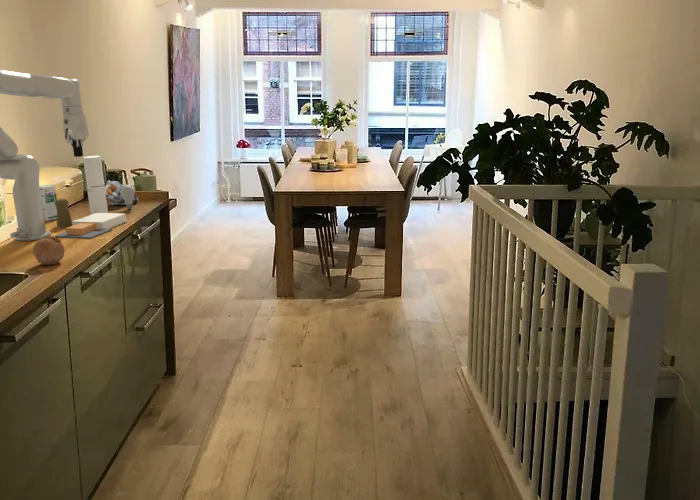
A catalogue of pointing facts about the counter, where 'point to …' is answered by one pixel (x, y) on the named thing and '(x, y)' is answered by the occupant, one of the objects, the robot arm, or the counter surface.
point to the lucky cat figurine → (116, 193)
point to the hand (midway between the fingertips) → (78, 156)
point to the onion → (48, 250)
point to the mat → (87, 235)
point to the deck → (103, 220)
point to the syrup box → (48, 202)
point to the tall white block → (95, 184)
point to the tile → (81, 228)
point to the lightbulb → (128, 195)
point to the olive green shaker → (63, 213)
